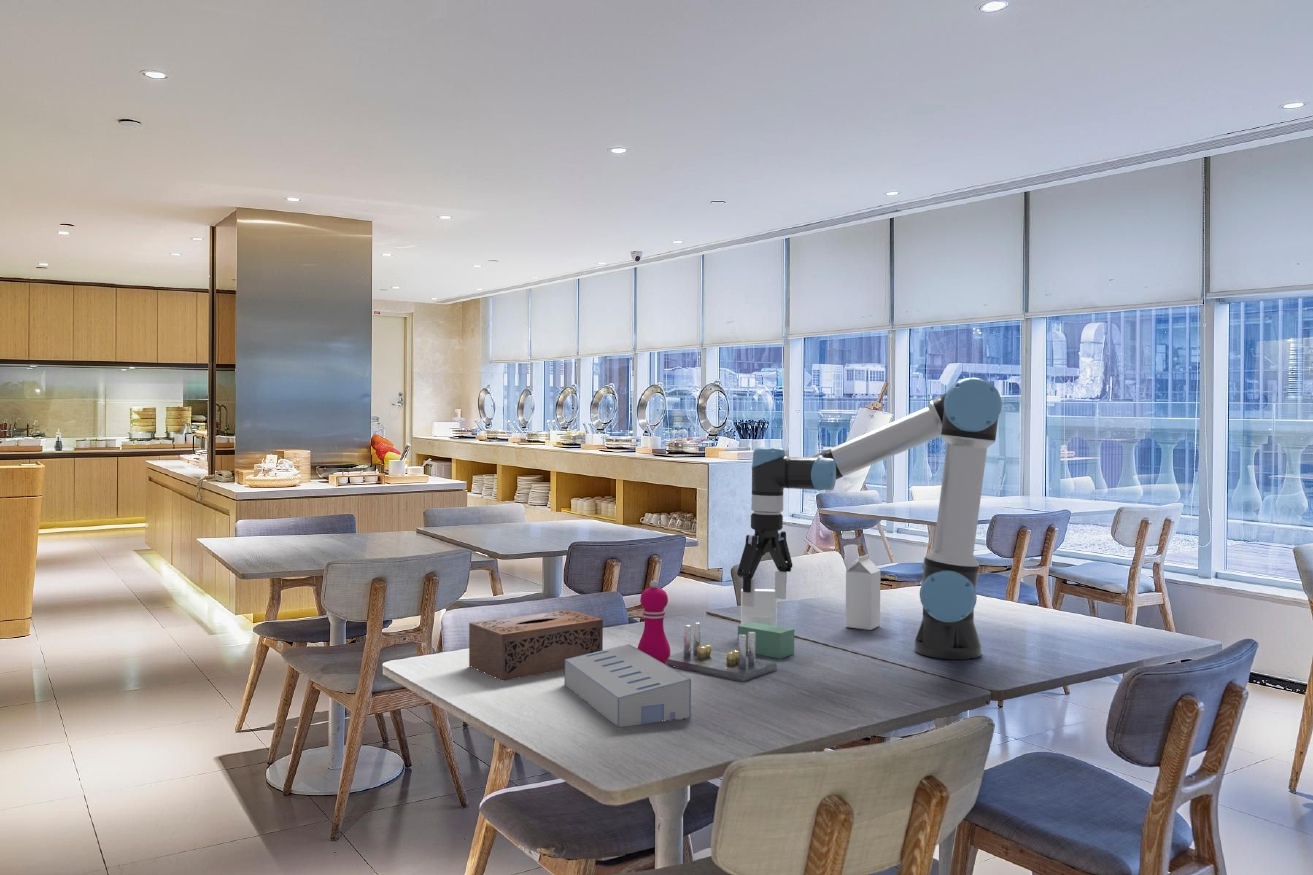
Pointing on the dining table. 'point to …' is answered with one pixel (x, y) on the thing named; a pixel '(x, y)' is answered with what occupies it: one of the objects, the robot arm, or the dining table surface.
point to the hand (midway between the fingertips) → (764, 602)
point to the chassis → (720, 658)
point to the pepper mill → (654, 623)
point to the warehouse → (629, 686)
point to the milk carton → (863, 594)
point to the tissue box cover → (532, 642)
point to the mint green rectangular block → (769, 639)
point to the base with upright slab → (760, 608)
